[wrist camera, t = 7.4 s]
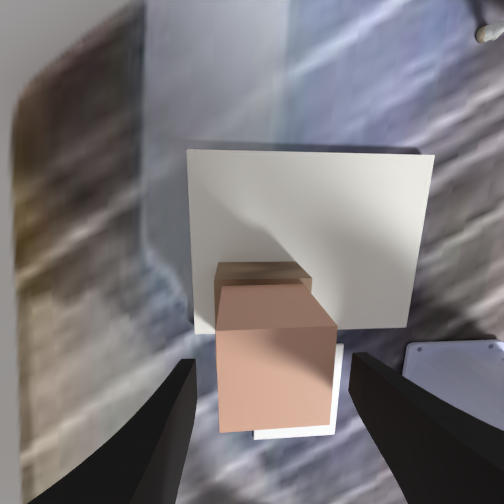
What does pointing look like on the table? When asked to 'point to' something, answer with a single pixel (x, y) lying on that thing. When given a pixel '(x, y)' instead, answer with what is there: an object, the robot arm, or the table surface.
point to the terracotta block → (273, 358)
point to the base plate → (312, 226)
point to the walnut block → (257, 277)
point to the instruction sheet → (312, 429)
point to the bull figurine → (490, 32)
